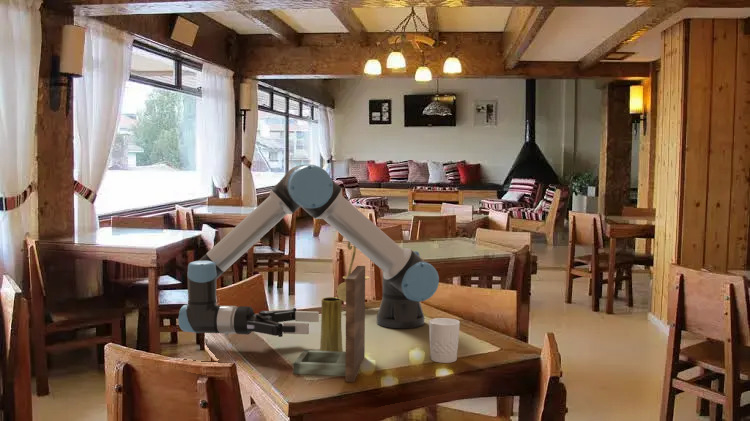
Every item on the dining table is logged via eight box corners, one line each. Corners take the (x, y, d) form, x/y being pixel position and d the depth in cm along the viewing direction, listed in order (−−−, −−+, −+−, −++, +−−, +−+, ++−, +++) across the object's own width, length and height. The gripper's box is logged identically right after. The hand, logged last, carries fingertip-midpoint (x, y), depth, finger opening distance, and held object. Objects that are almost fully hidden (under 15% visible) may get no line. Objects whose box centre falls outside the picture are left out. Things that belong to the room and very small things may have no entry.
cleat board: (289, 379, 151) (289, 277, 149) (307, 354, 170) (307, 264, 169) (354, 382, 149) (354, 278, 147) (364, 357, 169) (365, 266, 167)
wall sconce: (358, 313, 220) (358, 240, 218) (332, 310, 223) (333, 238, 222) (373, 305, 233) (373, 236, 231) (348, 303, 236) (349, 235, 235)
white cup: (426, 355, 171) (426, 317, 171) (455, 354, 172) (456, 317, 171) (431, 364, 163) (431, 325, 163) (462, 363, 164) (462, 324, 163)
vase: (346, 349, 176) (346, 297, 175) (337, 355, 170) (337, 302, 169) (325, 347, 178) (325, 296, 177) (316, 353, 172) (316, 300, 171)
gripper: (250, 322, 188) (322, 325, 186) (221, 346, 164) (303, 349, 161) (250, 297, 188) (322, 299, 186) (220, 316, 163) (303, 319, 161)
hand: (313, 322), depth 174 cm, fingers open, 13 cm apart
